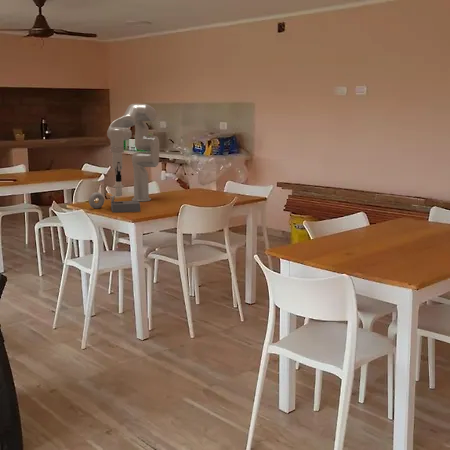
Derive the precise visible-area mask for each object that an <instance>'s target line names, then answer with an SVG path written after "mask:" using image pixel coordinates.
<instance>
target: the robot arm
mask: <svg viewBox="0 0 450 450" xmlns="http://www.w3.org/2000/svg"><path fill="white" fill-rule="evenodd" d="M156 119H157V110H156V109H155V108H154V107H153V106H151V105H150V104H147V103H131V104H129V105H128V106H127V108H126V110H125V112H124V113H123V115H122V116H120V117H118V118H117V119H115V120H114V121H112V122H111V123H110V125H109V126H108V129H107V131H106V136H107V138H108V140H109V141H110V153H112V154H111V155H112V156H111V161H112V165H111V166H112V167H111V168H112V169H113V170H114V175H115V174H116V182H121V183H122V170H123V153H124V152H125V150H124V149H125V147H124V145H125V143H124V142H125V141H128V140H129V141H130V139H131V138H132V134H133V133H132V130H131V129H130V128H131V127H133V126H134V130H135V135H134V146H135V147H134V148H135V149H136V150H139V151H138V152H134V153H133V154H132V155H131V163H132V167H133V169H132V170H133V197H132V198H131V201H138V202H149V201H151V200H152V198H151V197H149V195H150V194H149V188H150V187H149V172H148V170H147V169H146V168H157V167H158V166H159V162H160V139H159V137H158V136H157V135H149V126H148V125H147V123H146V122H154V121H155V120H156ZM146 151H147V152H146ZM148 151H149V152H148ZM150 151H151V152H150Z"/></svg>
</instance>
